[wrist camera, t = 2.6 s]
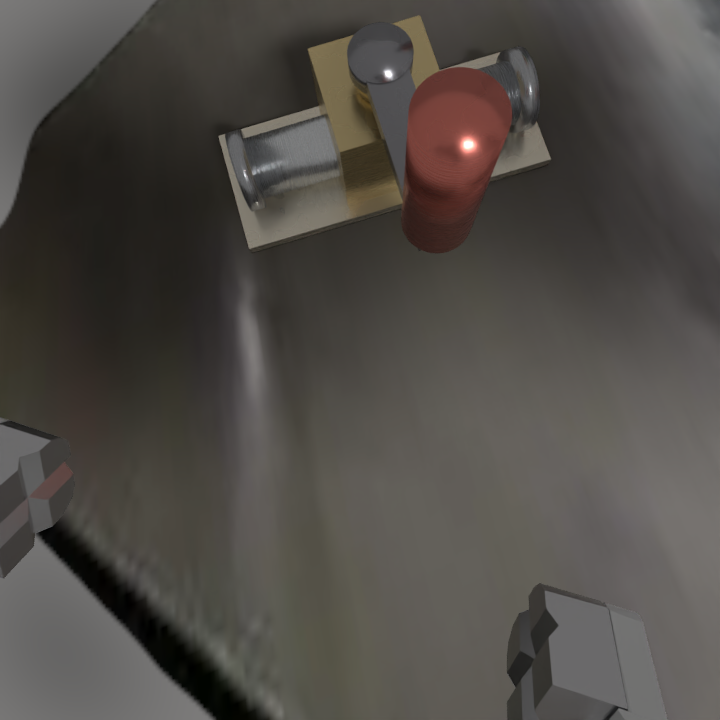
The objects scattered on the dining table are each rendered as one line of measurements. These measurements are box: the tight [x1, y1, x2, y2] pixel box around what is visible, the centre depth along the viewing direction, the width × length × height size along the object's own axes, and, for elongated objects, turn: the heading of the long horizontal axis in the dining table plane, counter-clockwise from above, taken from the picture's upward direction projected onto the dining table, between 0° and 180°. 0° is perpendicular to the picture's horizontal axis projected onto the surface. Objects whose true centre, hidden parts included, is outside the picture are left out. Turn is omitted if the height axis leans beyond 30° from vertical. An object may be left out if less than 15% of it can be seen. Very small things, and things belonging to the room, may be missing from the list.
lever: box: [347, 22, 512, 253], centre depth 25 cm, size 14×4×10 cm, turn 16°
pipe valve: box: [219, 15, 551, 253], centre depth 35 cm, size 22×9×9 cm, turn 106°
